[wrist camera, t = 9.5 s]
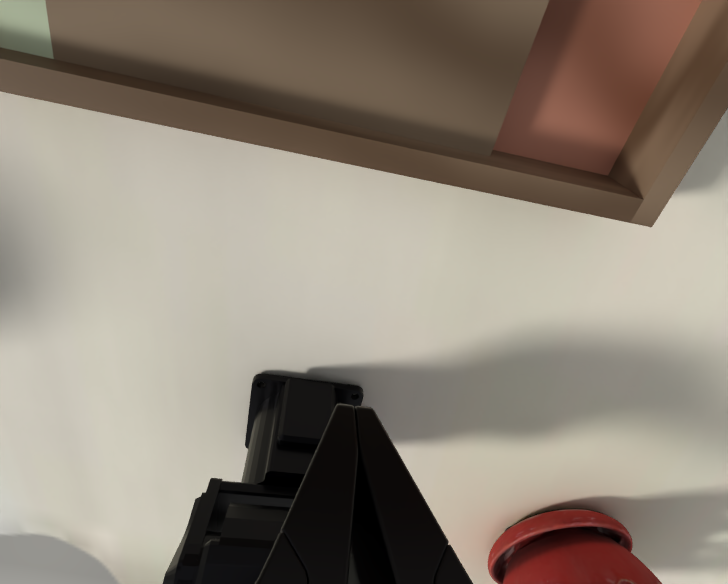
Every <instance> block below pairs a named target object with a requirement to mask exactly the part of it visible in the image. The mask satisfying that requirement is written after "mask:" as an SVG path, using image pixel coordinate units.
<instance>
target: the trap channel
mask: <svg viewBox="0 0 728 584" xmlns="http://www.w3.org/2000/svg"><path fill="white" fill-rule="evenodd" d="M0 91H1V92H6V93H11V94H16V95H20V96H25V97H30V98H35V99H40V100H44V101H49V102H54V103H59V104H64V105H68V106H73V107H78V108H83V109H88V110H92V111H97V112H102V113H107V114H111V115H116V116H121V117H126V118H131V119H135V120H140V121H145V122H150V123H155V124H159V125H164V126H169V127H174V128H179V129H183V130H188V131H193V132H198V133H203V134H207V135H212V136H217V137H222V138H226V139H231V140H236V141H241V142H246V143H250V144H255V145H260V146H265V147H270V148H274V149H279V150H284V151H289V152H294V153H298V154H303V155H308V156H313V157H318V158H322V159H327V160H332V161H337V162H341V163H346V164H351V165H356V166H361V167H365V168H370V169H375V170H380V171H385V172H389V173H394V174H399V175H404V176H409V177H413V178H418V179H423V180H428V181H433V182H437V183H442V184H447V185H452V186H456V187H461V188H466V189H471V190H476V191H480V192H485V193H490V194H495V195H500V196H504V197H509V198H514V199H519V200H524V201H528V202H533V203H538V204H543V205H548V206H552V207H557V208H562V209H567V210H571V211H576V212H581V213H586V214H591V215H595V216H600V217H605V218H610V219H615V220H619V221H624V222H629V223H634V224H639V225H643V226H648V227H652V226H653V225H654V223H655V221H656V220H657V218H658V217H659V215H660V213H661V212H662V210H663V209H664V207H665V206H666V204H667V202H668V201H669V199H670V198H671V196H672V195H673V193H674V191H675V190H676V188H677V187H678V185H679V184H680V182H681V180H682V179H683V177H684V176H685V174H686V173H687V171H688V169H689V168H690V166H691V165H692V163H693V162H694V160H695V158H696V157H697V155H698V154H699V152H700V151H701V149H702V147H703V146H704V144H705V143H706V141H707V140H708V138H709V136H710V135H711V133H712V132H713V130H714V129H715V127H716V125H717V124H718V122H719V121H720V119H721V117H722V116H723V114H724V113H725V111H726V110H727V108H728V0H0Z"/></svg>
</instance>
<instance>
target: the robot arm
mask: <svg viewBox="0 0 728 584" xmlns="http://www.w3.org/2000/svg"><path fill="white" fill-rule="evenodd" d="M260 382H264V383H260ZM353 394H356V395H353ZM362 400H363V390H362V388H361V387H359V386H354V385H346V384H339V383H331V382H323V381H315V380H308V379H300V378H292V377H284V376H277V375H269V374H257V375H256V376H254V378H253V382H252V390H251V398H250V407H249V415H248V424H247V433H246V441H245V446H246V448H248V453H247V458H246V463H245V468H244V472H243V477H242V482H241V483H240V482H229V481H222V479H217V478H211V479H210V482H209V485H208V488H207V491H206V493H202V495H201V497H199V498H197V499H195V503H194V506H193V509H192V513H191V516H190V520H189V523H188V526H187V529H186V532H185V534H184V536H183V539H182V541H181V543H180V545H179V547H178V549H177V551H176V553H175V555H174V557H173V559H172V561H171V563H170V565H169V568H168V570H167V572H166V574H165V577H164V581H163V584H473V583H472V581H471V579H470V578H469V576H468V574H467V573H466V571H465V569H464V568H463V566H462V564H461V563H460V561H459V559H458V557H457V555H456V554H455V552H454V550H453V548H452V547H451V545H448V540H447V538H446V536H445V534H444V533H443V531H442V529H441V527H440V526H439V524H438V522H437V520H436V519H435V517H434V515H433V513H432V512H431V510H430V508H429V506H428V505H427V503H426V501H425V499H424V497H423V496H422V494H421V492H420V490H419V489H418V487H417V485H416V483H415V482H414V480H413V478H412V476H411V475H410V473H409V471H408V469H407V468H406V466H405V464H404V462H403V461H402V459H401V457H400V455H399V453H398V452H397V450H396V448H395V446H394V445H393V443H392V441H391V439H390V438H389V436H388V434H387V432H386V431H385V429H384V427H383V425H382V424H381V422H380V420H379V418H378V416H377V415H376V413H375V411H374V410H373V409H372V408H371V407H364V406H361V403H362ZM447 545H448V546H447Z"/></svg>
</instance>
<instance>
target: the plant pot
mask: <svg viewBox="0 0 728 584" xmlns="http://www.w3.org/2000/svg"><path fill="white" fill-rule="evenodd" d="M631 550H632V538H631V536H630V534H629V532H628V531H627V529H626V528H625V527H624V526H623V525H622V524H621V523H619V522H618V521H617V520H615V519H613V518H611V517H609V516H607V515H605V514H602V513H598V512H594V511H590V510H581V509H567V510H557V511H551V512H546V513H542V514H538V515H535V516H532V517H529V518H527V519H525V520H523V521H521V522H519V523H517V524H515V525H514V526H512V527H510V528H507V529H506V530H505V532H504V533H503V534H502V535H501V536H500V537H499V538H498V540H497V541H496V542H495V543H494V545H493V547H492V549H491V551H490V554H489V558H488V570H489V573H490V575H491V577H492V578H493V580H494V581H495V582H497V583H498V584H662V583H661V582H660V581H659V579H658V578H657V577H656V576H655V575H654V574H653V573H652V572H651V571H650V570H649V569H648V568H647V567H646V566H645V565H644V564H643V563H642V562H641V561H640V560H639V559H638V558H637V557H635V556H634V555H633V554H632V553H631Z"/></svg>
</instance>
